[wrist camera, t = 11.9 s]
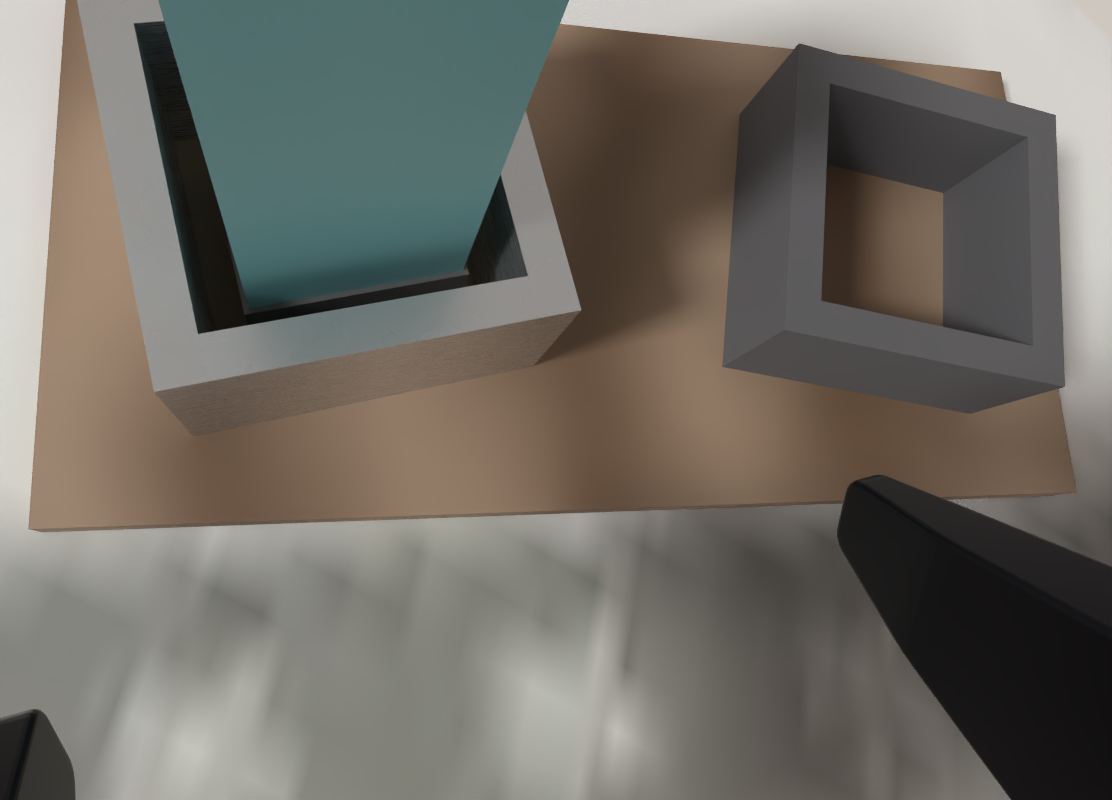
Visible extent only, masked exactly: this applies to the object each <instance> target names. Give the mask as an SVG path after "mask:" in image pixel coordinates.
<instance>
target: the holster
mask: <svg viewBox="0 0 1112 800" xmlns="http://www.w3.org/2000/svg"><path fill="white" fill-rule="evenodd" d="M827 164H828V165H832V166H836V167H840V168H844V169H848V170H852V171H856V172H860V173H864V174H868V175H872V176H876V177H880V178H884V179H888V180H892V181H896V182H900V183H904V184H908V185H912V186H916V187H920V188H924V189H928V190H933V191H937V192H941V193H943V327H942V326H937V325H932V324H928V323H923V322H918V321H914V320H909V319H904V318H900V317H895V316H890V315H885V314H881V313H876V312H871V311H867V310H862V309H857V308H852V307H848V306H843V305H838V304H834V303H829V302H824V301H821V294H822V269H823V244H824V219H825V194H826V169H827ZM722 367H725V368H731V369H736V370H741V371H746V372H752V373H757V374H762V375H767V376H773V377H778V378H783V379H789V380H794V381H799V382H804V383H810V384H815V385H820V386H825V387H831V388H836V389H841V390H846V391H852V392H857V393H862V394H868V395H873V396H878V397H883V398H889V399H894V400H899V401H904V402H910V403H915V404H920V405H926V406H931V407H936V408H941V409H947V410H952V411H957V412H962V413H968V414H972V413H975V412H979V411H982V410H986V409H989V408H993V407H996V406H1000V405H1003V404H1007V403H1010V402H1014V401H1017V400H1020V399H1024V398H1027V397H1031V396H1034V395H1038V394H1041V393H1045V392H1048V391H1052V390H1055V389H1059V388H1062V387H1065V381H1064V351H1063V321H1062V292H1061V262H1060V232H1059V203H1058V173H1057V143H1056V115H1053V114H1050V113H1046V112H1042V111H1039V110H1035V109H1032V108H1028V107H1025V106H1021V105H1017V104H1014V103H1010V102H1007V101H1003V100H1000V99H996V98H992V97H989V96H985V95H982V94H978V93H975V92H971V91H967V90H964V89H960V88H957V87H953V86H950V85H946V84H942V83H939V82H935V81H932V80H928V79H925V78H921V77H917V76H914V75H910V74H907V73H903V72H899V71H896V70H892V69H889V68H885V67H882V66H878V65H874V64H871V63H867V62H864V61H860V60H857V59H853V58H849V57H846V56H842V55H839V54H835V53H832V52H828V51H824V50H821V49H817V48H814V47H810V46H807V45H803V44H798V45H797V46H796V48H795V49H794V50H793V51H792V52H791V54H790V55H789V56H788V57H787V58H786V60H785V61H784V62H783V63H782V64H781V66H780V67H779V68H778V69H777V70H776V71H775V73H774V74H773V75H772V76H771V77H770V79H769V80H768V81H767V82H766V83H765V85H764V86H763V87H762V88H761V89H760V91H759V92H758V93H757V94H756V95H755V96H754V98H753V99H752V100H751V101H750V102H749V104H748V105H747V106H746V107H745V108H744V110H743V111H742V112H741V113H740V116H739V131H738V145H737V160H736V174H735V189H734V203H733V218H732V232H731V247H730V261H729V276H728V290H727V305H726V319H725V334H724V348H723V363H722Z"/></svg>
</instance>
